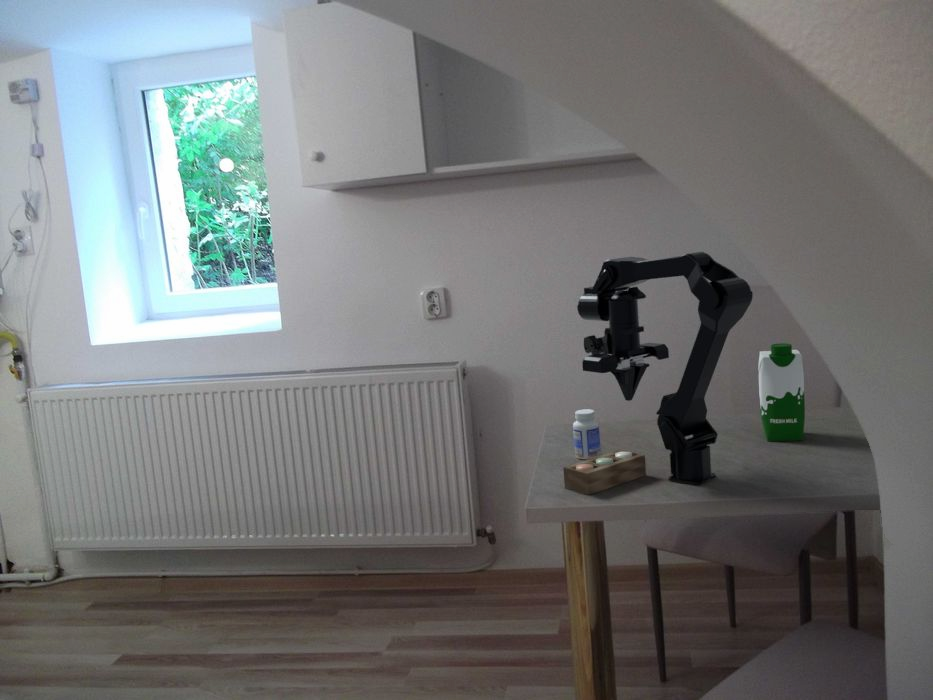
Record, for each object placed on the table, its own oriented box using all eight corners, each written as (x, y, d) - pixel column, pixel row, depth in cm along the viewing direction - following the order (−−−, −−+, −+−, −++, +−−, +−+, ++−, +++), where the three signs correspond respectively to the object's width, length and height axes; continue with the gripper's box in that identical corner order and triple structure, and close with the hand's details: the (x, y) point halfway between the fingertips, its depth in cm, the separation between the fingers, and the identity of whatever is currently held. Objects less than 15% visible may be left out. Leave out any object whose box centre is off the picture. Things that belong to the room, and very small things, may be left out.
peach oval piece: (585, 474, 158) (584, 462, 157) (597, 477, 155) (596, 465, 155) (573, 478, 156) (572, 466, 155) (584, 481, 153) (584, 470, 153)
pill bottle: (602, 452, 178) (599, 407, 176) (599, 460, 173) (596, 414, 171) (577, 453, 179) (573, 408, 178) (573, 460, 174) (570, 414, 173)
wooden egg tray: (621, 469, 165) (620, 449, 165) (646, 475, 160) (644, 454, 160) (564, 487, 157) (563, 467, 156) (588, 495, 152) (587, 473, 151)
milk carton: (763, 442, 175) (759, 347, 172) (759, 431, 183) (755, 341, 180) (808, 441, 172) (805, 345, 169) (802, 430, 181) (799, 338, 178)
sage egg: (605, 467, 160) (604, 456, 160) (617, 470, 158) (616, 459, 158) (593, 471, 159) (592, 460, 158) (605, 474, 156) (604, 463, 156)
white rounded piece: (624, 461, 163) (623, 450, 163) (636, 464, 161) (635, 453, 160) (612, 465, 162) (611, 454, 161) (624, 468, 159) (623, 457, 159)
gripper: (627, 314, 176) (632, 387, 178) (560, 327, 165) (566, 404, 168) (668, 316, 167) (672, 393, 169) (600, 329, 156) (605, 411, 159)
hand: (628, 400), depth 166 cm, fingers closed
